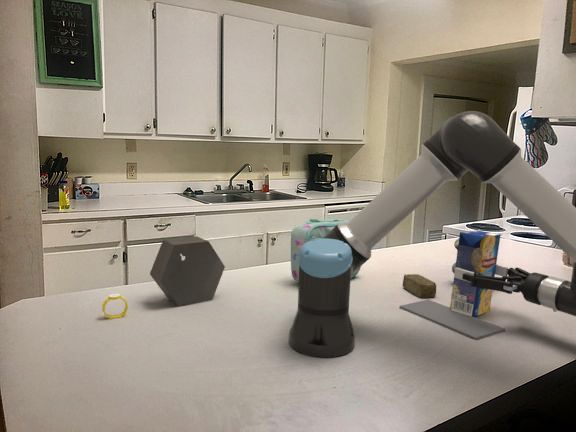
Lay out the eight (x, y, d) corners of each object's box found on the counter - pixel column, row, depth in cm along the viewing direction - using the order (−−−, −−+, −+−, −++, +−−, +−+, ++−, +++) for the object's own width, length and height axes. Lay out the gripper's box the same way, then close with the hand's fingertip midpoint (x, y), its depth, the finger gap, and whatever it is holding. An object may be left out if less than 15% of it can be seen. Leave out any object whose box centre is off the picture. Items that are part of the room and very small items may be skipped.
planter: (220, 274, 147) (186, 221, 138) (233, 280, 141) (199, 225, 132) (177, 311, 140) (138, 259, 131) (189, 320, 134) (149, 265, 125)
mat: (475, 340, 116) (475, 337, 116) (399, 307, 137) (399, 305, 137) (505, 330, 123) (505, 328, 122) (428, 301, 143) (428, 299, 143)
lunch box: (307, 292, 148) (310, 223, 144) (285, 284, 155) (287, 218, 152) (363, 278, 165) (367, 216, 162) (341, 271, 173) (344, 212, 169)
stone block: (420, 299, 145) (422, 283, 144) (400, 288, 156) (401, 273, 155) (437, 298, 147) (438, 282, 146) (416, 287, 158) (417, 272, 157)
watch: (104, 322, 120) (102, 299, 119) (102, 318, 123) (100, 296, 121) (129, 316, 123) (127, 294, 122) (127, 313, 125) (125, 291, 124)
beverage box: (489, 310, 137) (500, 234, 135) (473, 317, 130) (484, 236, 127) (466, 303, 142) (476, 230, 139) (449, 310, 134) (459, 232, 131)
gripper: (513, 314, 111) (440, 288, 129) (570, 298, 125) (496, 276, 142) (517, 282, 110) (442, 261, 128) (574, 270, 124) (499, 252, 141)
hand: (471, 269), depth 135 cm, fingers open, 13 cm apart
